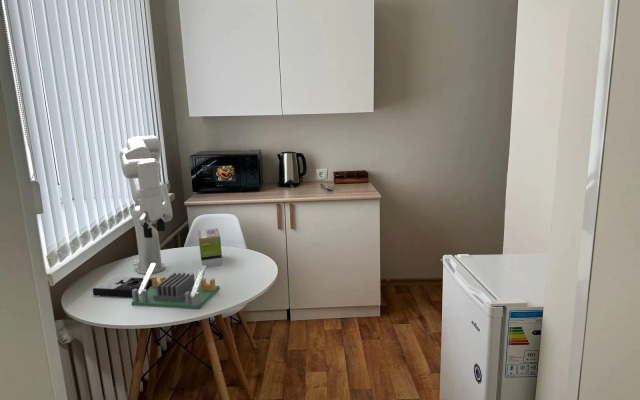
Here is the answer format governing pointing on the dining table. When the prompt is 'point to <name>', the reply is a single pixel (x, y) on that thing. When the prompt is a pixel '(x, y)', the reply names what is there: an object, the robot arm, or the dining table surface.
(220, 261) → the tea box
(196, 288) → the strap right
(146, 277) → the strap left
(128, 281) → the multimeter
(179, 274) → the cooler board
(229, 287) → the dining table surface
